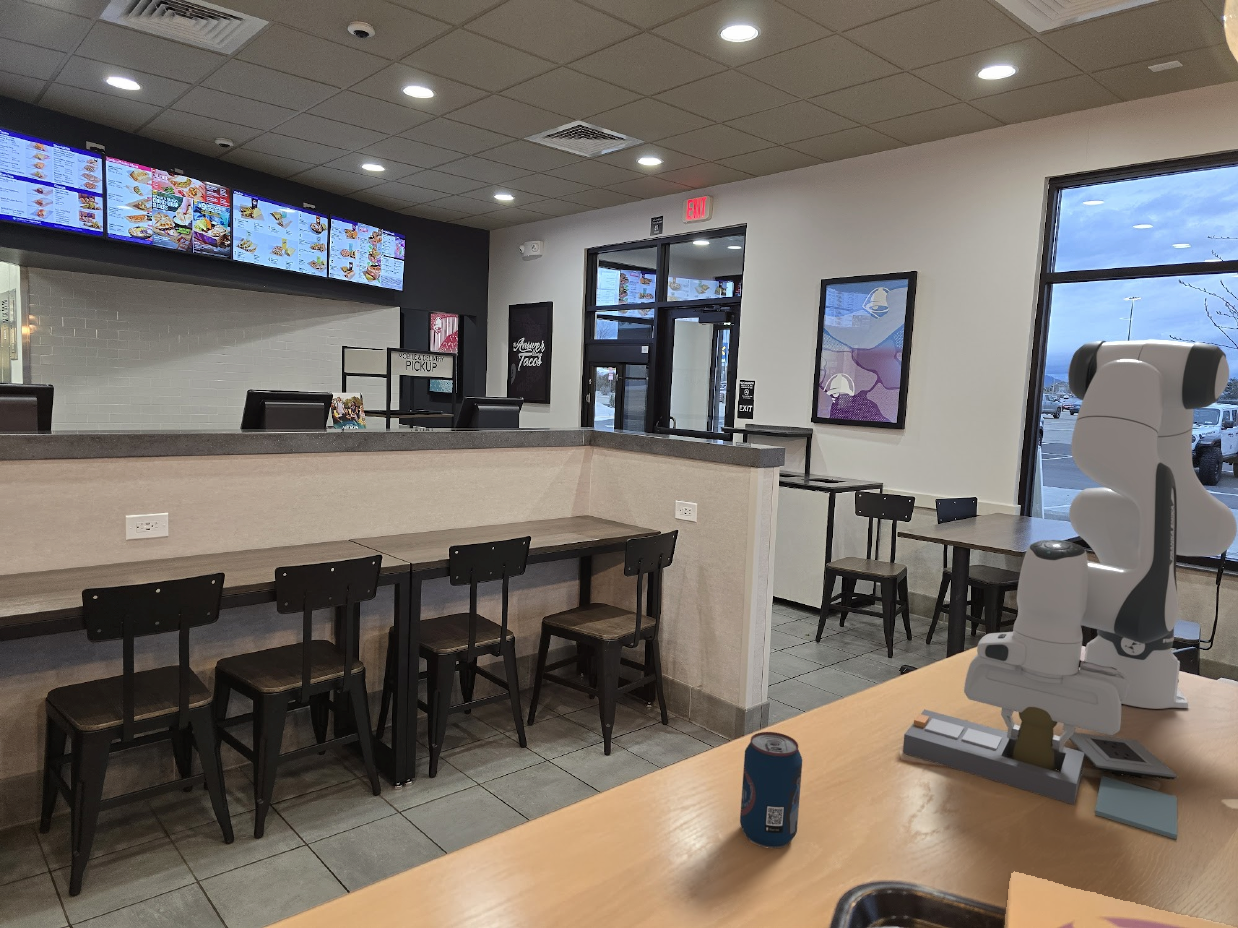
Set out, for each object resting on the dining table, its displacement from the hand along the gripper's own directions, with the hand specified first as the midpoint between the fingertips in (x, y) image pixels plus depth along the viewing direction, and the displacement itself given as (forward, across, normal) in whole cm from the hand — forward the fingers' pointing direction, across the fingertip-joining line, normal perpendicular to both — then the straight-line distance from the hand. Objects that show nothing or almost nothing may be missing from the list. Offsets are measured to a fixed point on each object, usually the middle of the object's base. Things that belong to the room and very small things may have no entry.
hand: (1035, 743), depth 116 cm
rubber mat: (+5, -13, +1) cm, 14 cm away
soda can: (+5, +24, +40) cm, 47 cm away
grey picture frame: (+4, -10, -11) cm, 16 cm away
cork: (+5, 0, 0) cm, 5 cm away
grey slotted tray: (+5, +6, 0) cm, 7 cm away
